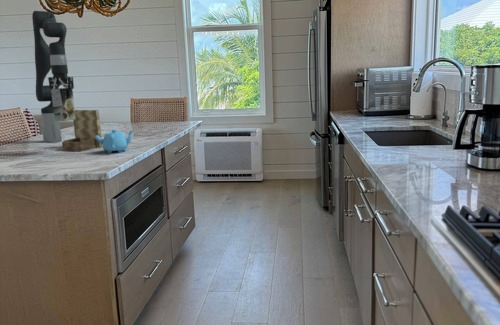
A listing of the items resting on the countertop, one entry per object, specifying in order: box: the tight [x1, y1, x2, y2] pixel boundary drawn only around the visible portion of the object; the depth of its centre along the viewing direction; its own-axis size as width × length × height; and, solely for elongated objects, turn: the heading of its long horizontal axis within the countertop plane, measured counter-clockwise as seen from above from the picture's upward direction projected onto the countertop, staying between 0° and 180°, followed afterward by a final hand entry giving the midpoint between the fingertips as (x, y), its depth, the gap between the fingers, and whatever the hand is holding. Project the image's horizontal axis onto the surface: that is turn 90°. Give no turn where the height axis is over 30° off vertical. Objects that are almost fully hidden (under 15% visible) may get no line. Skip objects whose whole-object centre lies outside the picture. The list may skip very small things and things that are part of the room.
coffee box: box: [51, 87, 76, 122], centre depth 221 cm, size 9×6×16 cm
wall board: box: [73, 109, 103, 148], centre depth 237 cm, size 16×2×20 cm, turn 69°
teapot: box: [95, 129, 135, 154], centre depth 221 cm, size 15×14×11 cm
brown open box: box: [61, 137, 98, 152], centre depth 233 cm, size 12×12×5 cm
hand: (62, 97), depth 220 cm, fingers closed on coffee box, 7 cm apart
